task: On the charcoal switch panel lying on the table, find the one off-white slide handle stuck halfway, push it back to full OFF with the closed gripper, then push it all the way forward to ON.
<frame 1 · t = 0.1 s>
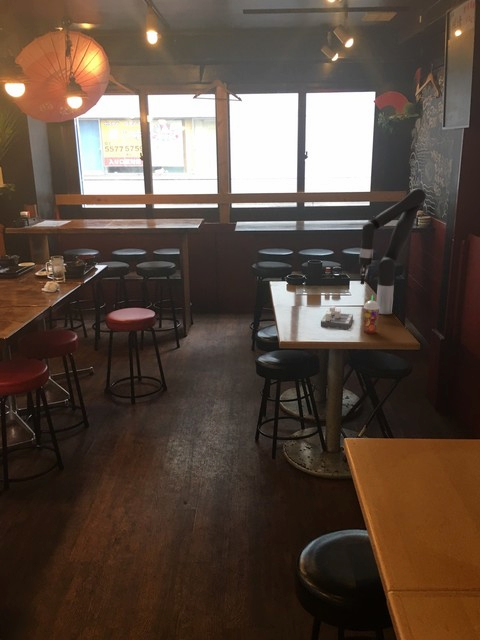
hand: (363, 282, 335), 17 cm above the table, tool pointing down, fingers open, 8 cm apart
breaker near: (328, 316, 308), point 5 cm above the table, slide at 8.0 cm
smoothie: (369, 332, 298), on the table
breaker panel: (337, 322, 314), on the table
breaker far: (332, 310, 320), point 5 cm above the table, slide at 8.0 cm
tripped breaker: (337, 313, 312), point 5 cm above the table, slide at 4.0 cm
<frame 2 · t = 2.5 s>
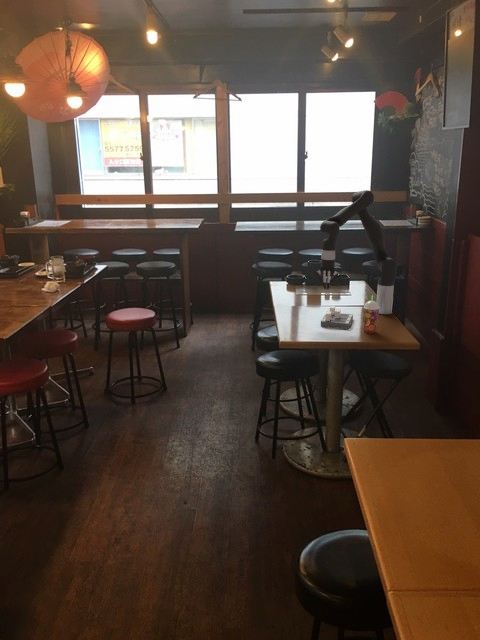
hand: (326, 288, 311), 19 cm above the table, tool pointing down, fingers closed
nothing on the table moved.
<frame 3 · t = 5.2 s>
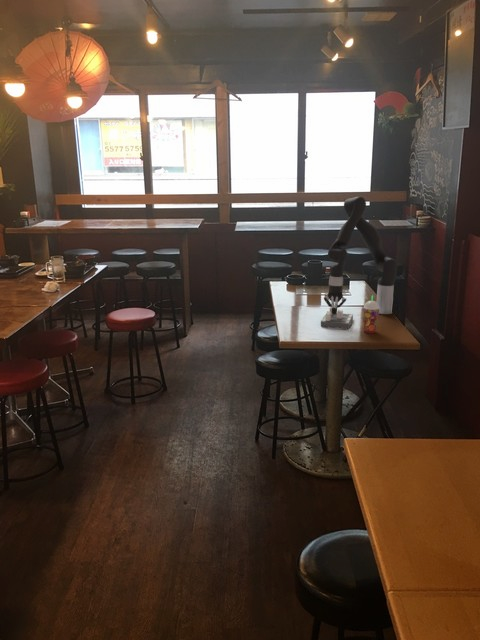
hand: (334, 314, 313), 5 cm above the table, tool pointing down, fingers closed
tripped breaker: (340, 314, 312), point 5 cm above the table, slide at 2.7 cm, touching gripper
everything else where it was.
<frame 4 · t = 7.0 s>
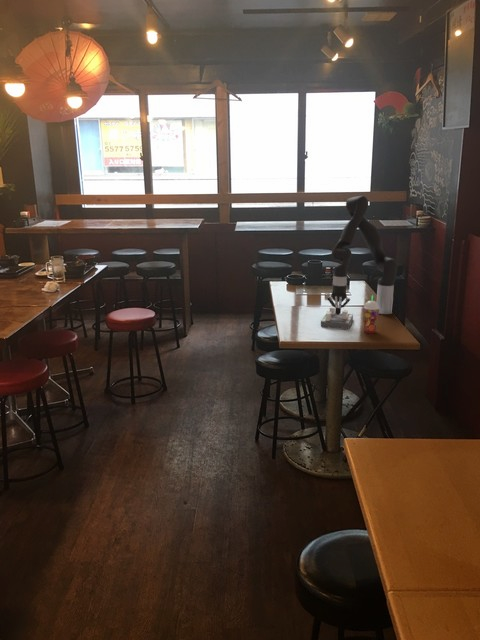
hand: (337, 314, 312), 5 cm above the table, tool pointing down, fingers closed
tripped breaker: (344, 314, 311), point 5 cm above the table, slide at -0.1 cm
everything else where it was.
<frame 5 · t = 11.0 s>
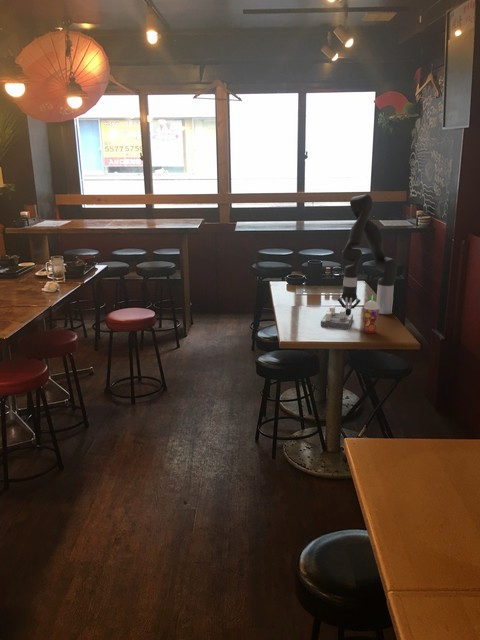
hand: (348, 315, 311), 5 cm above the table, tool pointing down, fingers closed
tripped breaker: (342, 314, 312), point 5 cm above the table, slide at 1.3 cm, touching gripper
everything else where it was.
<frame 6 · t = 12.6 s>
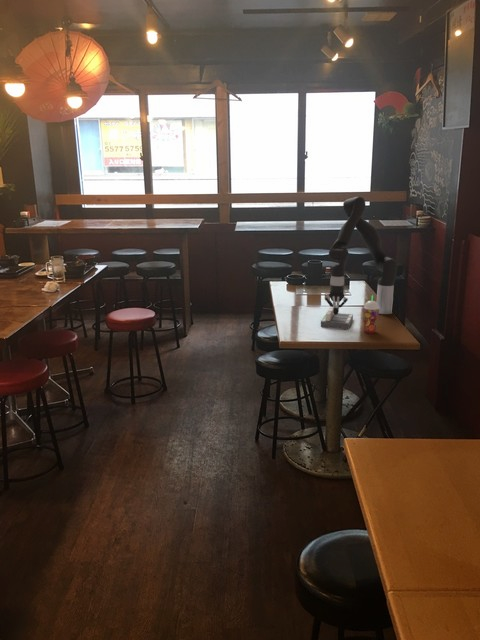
hand: (335, 314, 313), 5 cm above the table, tool pointing down, fingers closed
tripped breaker: (330, 313, 314), point 5 cm above the table, slide at 8.1 cm, touching gripper
everything else where it was.
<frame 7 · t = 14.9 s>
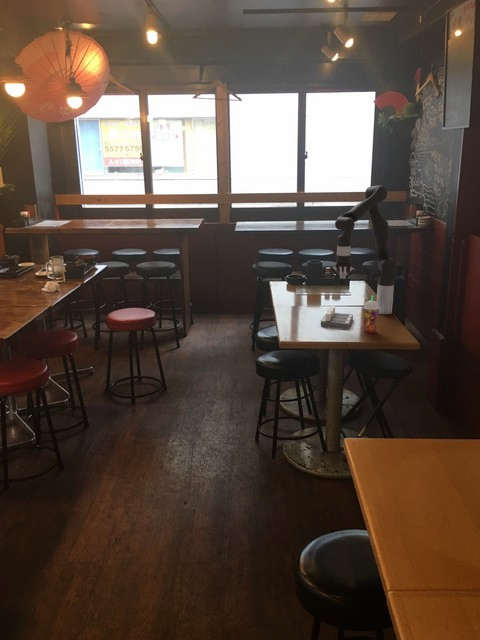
hand: (342, 284, 312), 21 cm above the table, tool pointing down, fingers closed
tripped breaker: (330, 313, 314), point 5 cm above the table, slide at 8.1 cm
everything else where it was.
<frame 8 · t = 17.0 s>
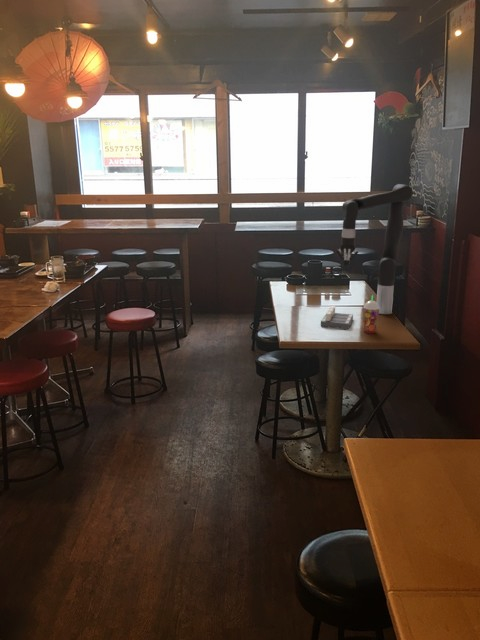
hand: (346, 266, 322), 29 cm above the table, tool pointing down, fingers closed
nothing on the table moved.
at the end: tripped breaker slide at 8.1 cm; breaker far slide at 8.0 cm; breaker near slide at 8.0 cm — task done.
